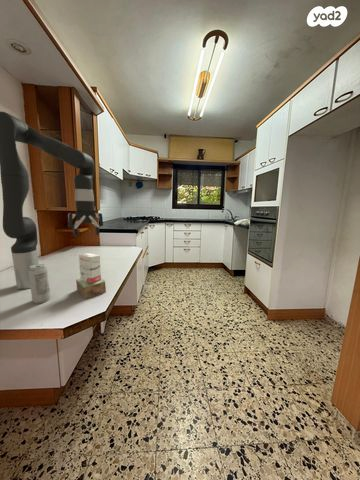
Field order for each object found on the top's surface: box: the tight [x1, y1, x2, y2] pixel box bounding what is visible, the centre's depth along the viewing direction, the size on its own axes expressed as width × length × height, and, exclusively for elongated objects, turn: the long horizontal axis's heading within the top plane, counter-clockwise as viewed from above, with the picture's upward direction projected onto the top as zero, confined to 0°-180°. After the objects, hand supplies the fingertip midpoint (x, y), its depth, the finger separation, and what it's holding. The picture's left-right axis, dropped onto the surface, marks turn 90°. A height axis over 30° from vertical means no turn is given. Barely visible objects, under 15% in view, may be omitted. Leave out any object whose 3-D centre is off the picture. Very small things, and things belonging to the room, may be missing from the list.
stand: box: [75, 277, 107, 299], centre depth 86 cm, size 9×11×5 cm
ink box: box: [78, 252, 102, 283], centre depth 85 cm, size 9×5×12 cm, turn 61°
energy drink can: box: [28, 263, 51, 304], centre depth 76 cm, size 6×6×15 cm
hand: (87, 236), depth 86 cm, fingers open, 8 cm apart
